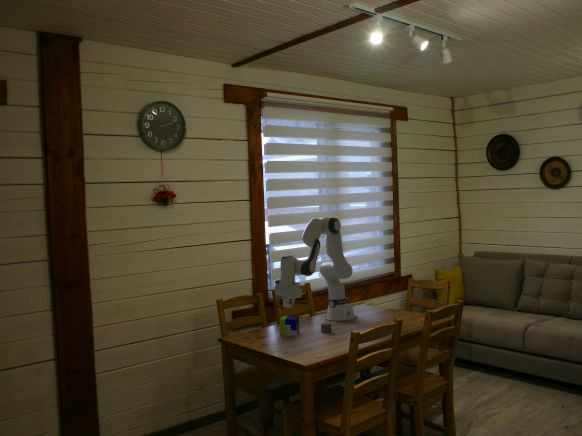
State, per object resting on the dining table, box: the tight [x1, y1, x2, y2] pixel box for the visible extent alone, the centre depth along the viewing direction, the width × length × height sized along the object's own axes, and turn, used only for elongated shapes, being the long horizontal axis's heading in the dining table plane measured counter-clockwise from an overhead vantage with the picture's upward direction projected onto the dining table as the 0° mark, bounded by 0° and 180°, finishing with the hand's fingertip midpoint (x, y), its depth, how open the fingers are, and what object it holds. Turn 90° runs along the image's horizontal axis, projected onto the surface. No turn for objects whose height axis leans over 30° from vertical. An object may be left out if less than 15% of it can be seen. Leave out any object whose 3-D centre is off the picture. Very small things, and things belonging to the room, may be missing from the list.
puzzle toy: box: [279, 315, 300, 337], centre depth 319 cm, size 10×10×10 cm
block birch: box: [282, 297, 295, 309], centre depth 319 cm, size 5×5×6 cm
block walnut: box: [320, 322, 333, 334], centre depth 321 cm, size 4×4×5 cm
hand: (288, 303), depth 319 cm, fingers closed on block birch, 5 cm apart
